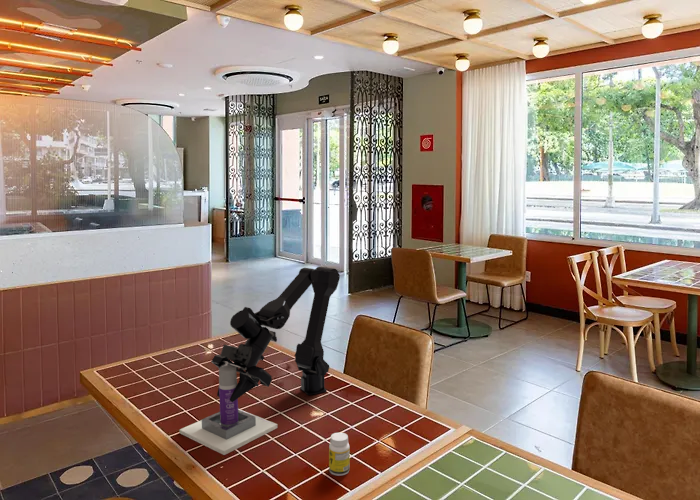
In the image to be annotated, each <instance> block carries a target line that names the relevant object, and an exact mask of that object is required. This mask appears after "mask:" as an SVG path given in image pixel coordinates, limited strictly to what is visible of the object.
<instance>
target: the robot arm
mask: <svg viewBox="0 0 700 500" xmlns="http://www.w3.org/2000/svg"><path fill="white" fill-rule="evenodd" d="M340 277H341V275H340V273H339V271H338V269H337V268H334V267H327V266H317V267H315V268H310V267H302V268H300V269H299V272H298V273H297V275H296V276H295V277H294V279H292V280H291V282H290V283H289V284H288V285H287V286H286V288H285V289H284V290H283V291H282V292H281V293H280V295H279V296H278V297H276V299H272V300H270V301H269V302H267V303H266V304H265V305H263V306H262V307H261V308H260V309H259V311H257V312H254V310H253V309H252V308H251V307H247V306H244V307H243V309H242V310H238V311H237V312H236V313H234V314H233V315H232V317H231V318H230V322H229V324H230V327H231V328H232V329H233V330H234V331H236V333H238V334H239V335H240V336H241V337H242V338H244V339H245V340H246V341H245V343H241V344H239V345H238V346H232V345H228V344H223V346H222V349H221V352H220V354H216V355H214V356H213V358H212V360H211V363H212V364H213V365H214V366H215V367H217V368H218V369H219V368H220V367H223V366H229V365H230V366H235V367H236V373H239V375H238V376H239V380H238V381H237V386H236V388H235V390H234V391H233V393H232V395H231V398H230V401H231V402H234V401H235V400H236V399H238V400H239V398H240V397H242V396H243V395H245V394H246V393H247V392H249V391H251V390H253V389H254V388H256V387H259V386H260V385H262V386H264V387H267V388H268V387H270V386H271V383H272V382H273V381H272V380H273V379H272V377H273V376H272V375H271V374H270V372H268V371H267V370H266V369H265V368H262V367H259V366H257V365H258V363H259V362H260V361H263V360H265V356H264V353H265V352H266V349H267V348H268V346H269V344H270V343H271V342H275V343H277V341H278V338H277V334H276V333H277V332H276V331H273V330H270V329H275V330H281V329H282V328H283V327H284V326H285V325H286V323H287V322H288V320H289V318H290V315H291V310H292V308H293V307H294V306H295V305H296V303H297V302H298V301H299V300H300V298H301V297H302V296H303V295H304V294H305V292H306V291H307V290H308V289H309V288H310V286H312V287H311V288H312V290H313V293H314V295H313V298H312V299H313V300H312V303H311V307H310V308H311V309H310V313H309V314H310V315H309V318H308V319H309V320H308V323H307V328H306V333H305V338H304V340H303V341H302V342H301V343H297V344H296V350H295V354H294V358H295V359H294V362H295V364H296V365H297V369H298V371H300V372H302V373H301V375H302V376H301V377H300V389H301V391H302V392H304V393H305V394H306V395H308V396H312V395H317V394H321V393H326V392H327V391H328V390H327V389H326V388H325V375H327V374H328V373H329V369H330V364H329V363H328V362H327V361H325V359H324V355H325V354H324V352H325V351H324V348H323V344H322V340H323V339H322V337H323V333H324V329H325V324H326V319H327V313H328V307H329V304H330V303H329V302H330V298H331V296H332V295H333V294H334V293H335V292H336V290H337V288H338V285H339V281H340ZM258 383H260V384H258ZM216 396H217V397H219V387H218V388H217V393H216Z"/></svg>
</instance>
